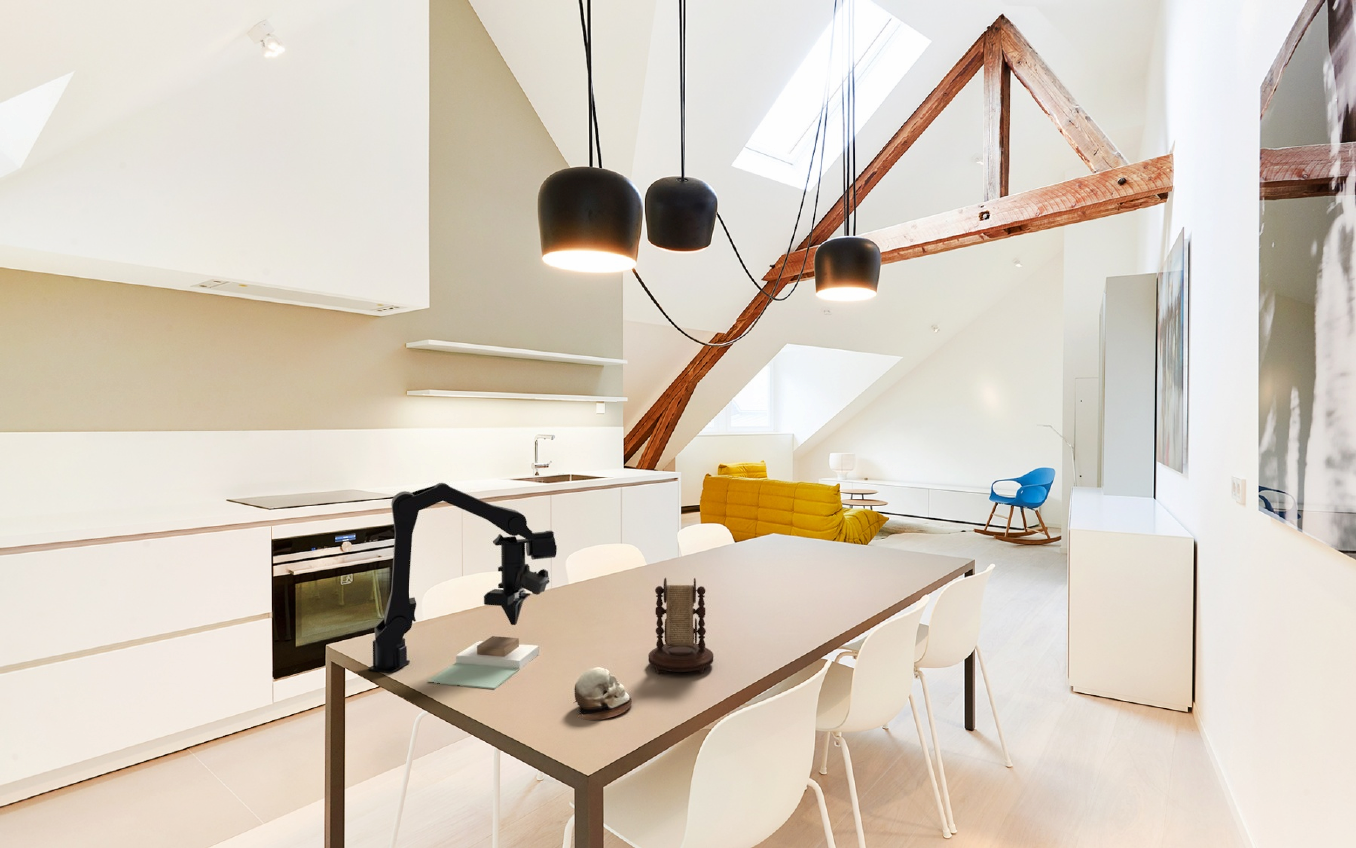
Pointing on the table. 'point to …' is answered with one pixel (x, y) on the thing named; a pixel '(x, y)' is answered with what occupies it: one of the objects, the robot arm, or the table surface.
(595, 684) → the skull
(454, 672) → the mat
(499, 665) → the plate
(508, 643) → the tile
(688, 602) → the scroll
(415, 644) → the table surface
